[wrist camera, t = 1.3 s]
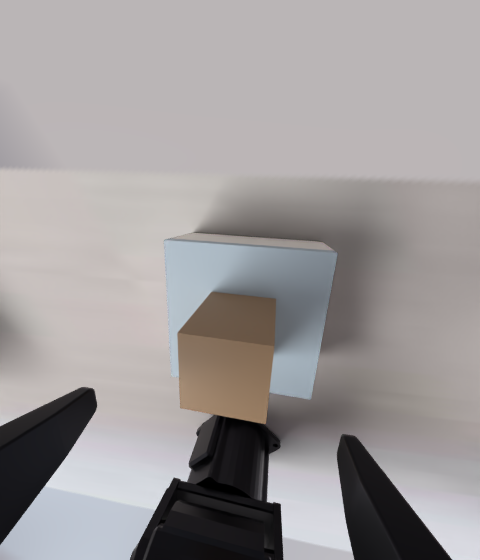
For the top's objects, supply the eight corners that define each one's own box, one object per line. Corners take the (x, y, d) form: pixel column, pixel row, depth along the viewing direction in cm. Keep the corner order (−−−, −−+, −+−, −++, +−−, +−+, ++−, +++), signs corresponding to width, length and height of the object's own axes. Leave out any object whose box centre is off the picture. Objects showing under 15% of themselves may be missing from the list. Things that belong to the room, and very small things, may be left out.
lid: (334, 250, 13) (374, 280, 7) (309, 390, 16) (325, 485, 10) (170, 238, 14) (102, 255, 9) (175, 369, 17) (128, 442, 12)
